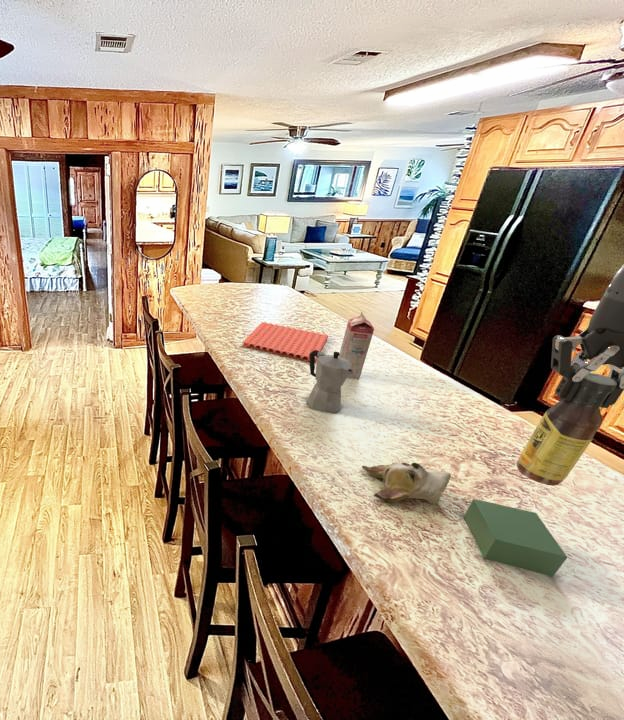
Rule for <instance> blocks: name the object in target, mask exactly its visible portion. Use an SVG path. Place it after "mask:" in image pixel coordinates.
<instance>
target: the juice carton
mask: <svg viewBox="0 0 624 720" xmlns="http://www.w3.org/2000/svg"><path fill="white" fill-rule="evenodd" d="M374 332H375V327H374V326H373V324H372V323H371V322H370V321H369V319H367V318H366V316H365V314H364V312H363V311H360V314H359V316H355V317H351V318H349V319H348V320H347V323H346V327H345V331H344V335H343V339H342V342H341V347H340V350H339V353H340V354H339V356H338V357H342V358H345V359H347V360H348V361H349V362H350V363H352V364H353V365H352V367H351V368H352V369H353V370H354V371H355V373H354V374H351V375H350V376H348V377H347V378H346V379H351V380H360V377H361V375H362V371H363V368H364V364H365V361H366V358H367V355H368V351H369V349H370V344H371V342H372V338H373V335H374Z"/></svg>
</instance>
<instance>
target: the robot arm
mask: <svg viewBox="0 0 624 720" xmlns="http://www.w3.org/2000/svg"><path fill="white" fill-rule="evenodd" d="M578 346H580V349H581V350H579V352H578V353H576V354H575V356H574V357H573V352H575V351H577V347H578ZM572 357H573V358H572ZM588 360H589V361H588ZM607 365H608V367H609V374H608V377H609V378H611V379H613V380H615V381H616V382H617V386H616V387H615V389H614V391H612V392H611V393H609V394H608V396H607V398H606V399H605V400H604V402H603V405H602V407H600V409H602V408H603V409H608V408H610V406H613V405H615V404H616V403H617V401H618V400H619V398H620V397H621V396H622V393H623V392H624V263H623V264H622V265H621V267H620V268H619V269H618V270H617V271H616V273H615V274H614V276H613V277H612V279H611V280H610V283H609V285H608V286H607V287H606V289H605V292H604V293H603V295H602V297H601V298H600V300H599V302H598V303H597V306H596V308H595V309H594V311H593V312H592V315H591V317H590V318H589V322H588V326H587V327H586V329H584V330H583V331H582V332H580V333H579V334H578V335H574V336H567V337H565V336H563V335H560V334H558V335H554V337H553V338H552V346H551V362H550V368H551V370H553V371H554V372H556V373H557V374H558V375H559V376H561V379H560V381H559V383H558V385H557V387H556V388H555V390H554V393H555V395H556V398H557V399H559V401H560V400H561V401H563V402H570V401H571V400H572V398H573V396H574V395H575V393H576V391H577V390H578V388H579V386H580V385H581V383H580V381H581V380H583V379H584V378H585V377H586V376H587V375H588V374H589V373H593V372H596V371H598V369H599V368H601V366H607Z"/></svg>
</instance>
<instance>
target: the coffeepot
mask: <svg viewBox="0 0 624 720" xmlns="http://www.w3.org/2000/svg"><path fill="white" fill-rule="evenodd" d="M339 354H340V351H333V354H326V353H324V352H323V351H321V352H319V351H318V350H314V351H312V352H311V353H310V354H309V359H310V361H309V372H310V375H311V376H312V377H314V378H315V380H316V383H315V384H314V385H313V388H312V389H311V392H310V394H309V396H308V398H307V401H306V404H307V406H308V407H309V408H310V409H311V410H312V411H317V412H323V413H328V414H329V413H330V414H337V413H338V412H339V410H340V409H341V400H342V390H341V389H342V386H343V385H344V384H345V382H346V380H347V379H348V378H347V377H348V376H350V375H351V374H354V373H355V371H354V370H353V369H352V368H351V367H352V365H353V364H352V363H350V362H349V361H348V360H347V359H345V358H342V357H339ZM315 356H316V357H317V361H316V365H315V363H314V362H315Z"/></svg>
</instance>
